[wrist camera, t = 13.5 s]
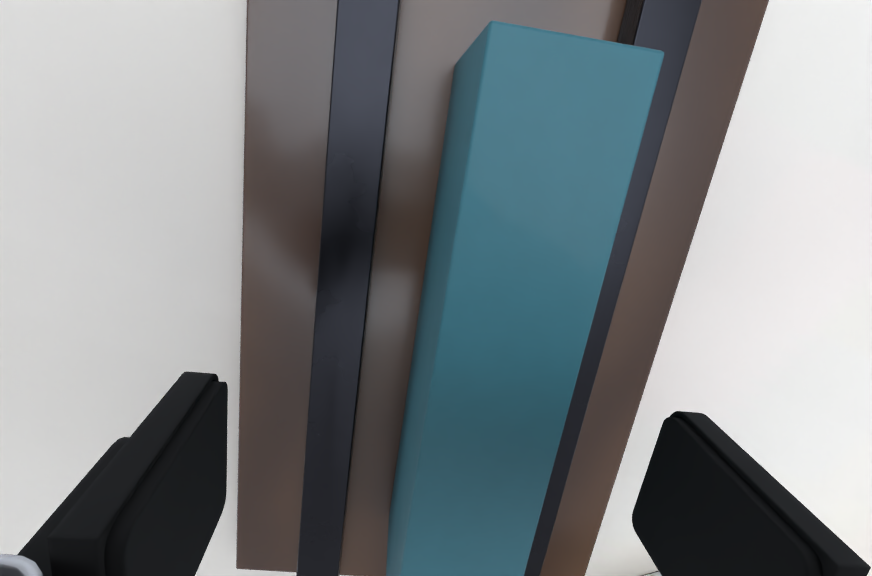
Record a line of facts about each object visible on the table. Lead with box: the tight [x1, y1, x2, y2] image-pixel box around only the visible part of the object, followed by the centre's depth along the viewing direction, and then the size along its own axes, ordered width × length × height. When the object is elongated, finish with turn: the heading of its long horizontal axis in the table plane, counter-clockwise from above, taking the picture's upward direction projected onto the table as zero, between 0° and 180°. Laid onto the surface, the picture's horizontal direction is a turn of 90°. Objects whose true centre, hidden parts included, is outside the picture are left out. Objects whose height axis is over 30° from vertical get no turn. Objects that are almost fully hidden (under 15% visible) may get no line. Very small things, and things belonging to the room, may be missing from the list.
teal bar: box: [386, 20, 664, 576], centre depth 13 cm, size 16×3×6 cm, turn 172°
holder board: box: [236, 0, 769, 576], centre depth 16 cm, size 14×22×2 cm, turn 172°
